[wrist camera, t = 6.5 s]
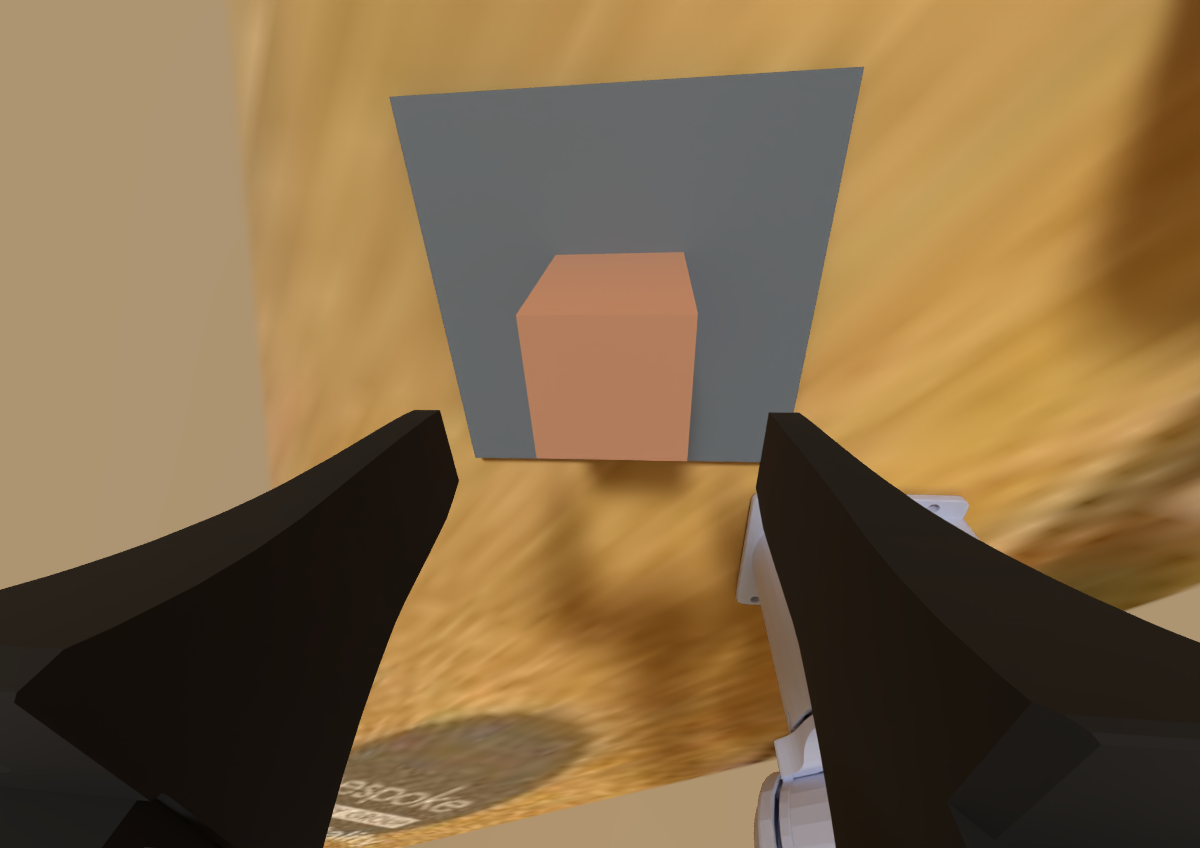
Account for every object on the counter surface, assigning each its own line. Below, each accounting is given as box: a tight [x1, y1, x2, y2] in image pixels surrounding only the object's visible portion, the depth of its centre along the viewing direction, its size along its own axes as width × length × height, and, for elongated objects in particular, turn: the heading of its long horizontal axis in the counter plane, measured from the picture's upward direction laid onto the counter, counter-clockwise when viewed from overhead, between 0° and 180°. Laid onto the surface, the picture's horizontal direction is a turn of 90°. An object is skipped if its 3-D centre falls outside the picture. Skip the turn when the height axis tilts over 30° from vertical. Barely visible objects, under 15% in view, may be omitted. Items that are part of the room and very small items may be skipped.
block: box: [516, 252, 698, 461], centre depth 15 cm, size 4×4×6 cm
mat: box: [390, 67, 864, 462], centre depth 18 cm, size 14×14×1 cm
